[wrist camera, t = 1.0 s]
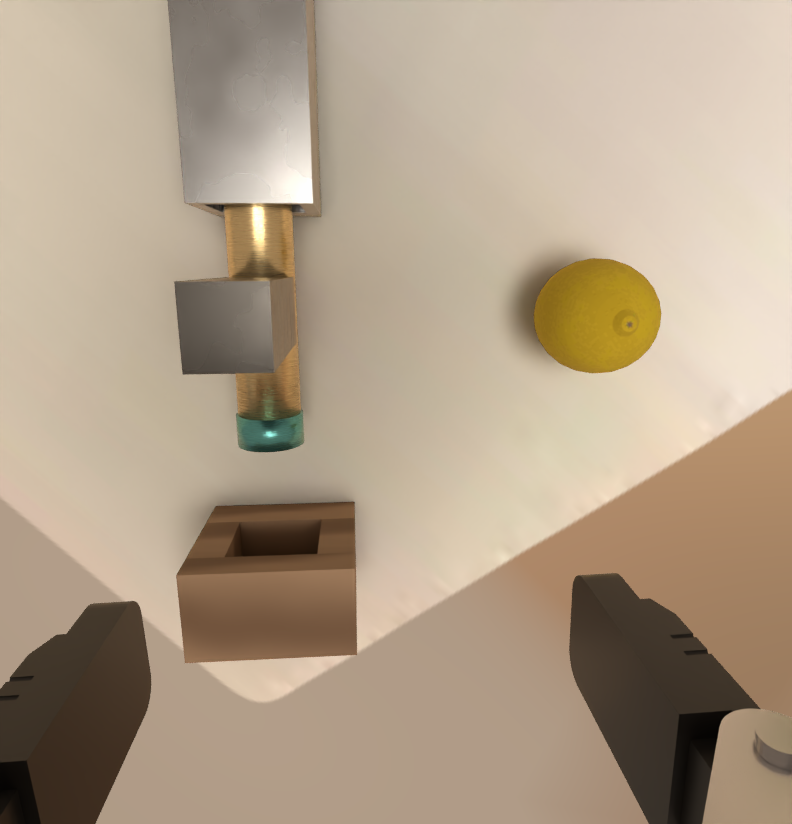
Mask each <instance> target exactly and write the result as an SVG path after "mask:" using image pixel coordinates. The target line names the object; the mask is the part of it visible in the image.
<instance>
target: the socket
mask: <svg viewBox="0 0 792 824" xmlns="http://www.w3.org/2000/svg"><path fill="white" fill-rule="evenodd" d="M176 578H177V587H178V597H179V607H180V617H181V627H182V637H183V647H184V656H185V663H193V662H194V663H196V662H216V661H237V660H258V659H279V658H299V657H320V656H341V655H357V625H356V553H355V508H354V502H340V503H308V504H276V505H243V506H216V507H215V509H214V510H213V512H212V514H211V516H210V517H209V519H208V521H207V523H206V524H205V526H204V528H203V530H202V531H201V533H200V535H199V537H198V538H197V540H196V542H195V544H194V545H193V547H192V549H191V551H190V552H189V554H188V556H187V558H186V559H185V561H184V563H183V565H182V566H181V568H180V570H179V572H178V573H177V575H176Z"/></svg>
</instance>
